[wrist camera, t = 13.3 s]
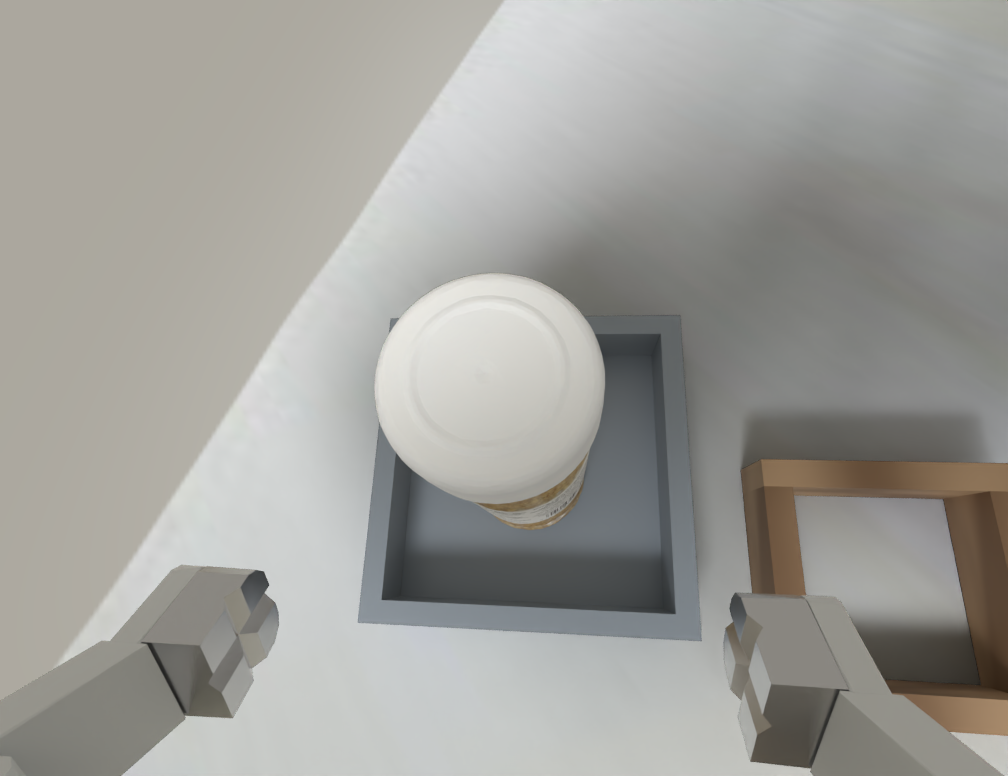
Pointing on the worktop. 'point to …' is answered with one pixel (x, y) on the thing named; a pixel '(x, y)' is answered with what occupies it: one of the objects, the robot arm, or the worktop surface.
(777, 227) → the worktop surface
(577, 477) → the sprinkles bottle
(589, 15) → the worktop surface
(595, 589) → the slate tray
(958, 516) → the walnut collar
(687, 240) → the worktop surface
